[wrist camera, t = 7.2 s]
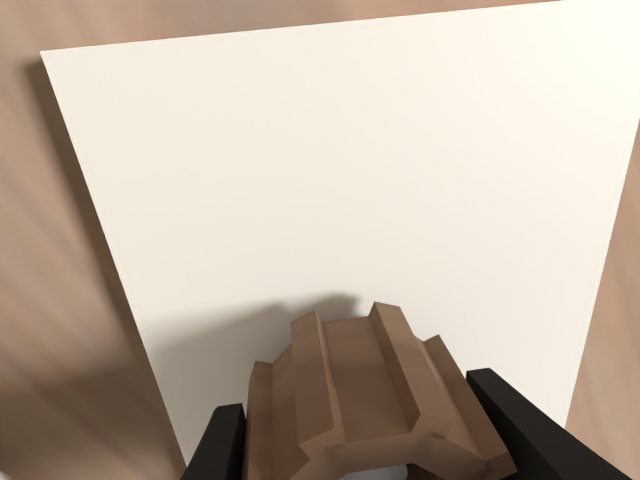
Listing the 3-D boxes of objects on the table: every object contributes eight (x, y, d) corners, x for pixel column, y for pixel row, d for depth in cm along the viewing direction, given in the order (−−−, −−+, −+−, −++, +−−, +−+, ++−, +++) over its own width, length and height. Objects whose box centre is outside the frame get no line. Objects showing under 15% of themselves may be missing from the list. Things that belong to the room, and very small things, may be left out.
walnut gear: (450, 290, 10) (531, 396, 7) (442, 438, 12) (500, 569, 9) (235, 320, 10) (217, 445, 7) (268, 466, 12) (266, 611, 9)
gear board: (632, -4, 9) (1040, -74, 4) (524, 515, 18) (619, 692, 13) (64, 51, 9) (-222, 44, 4) (232, 562, 17) (214, 768, 12)
